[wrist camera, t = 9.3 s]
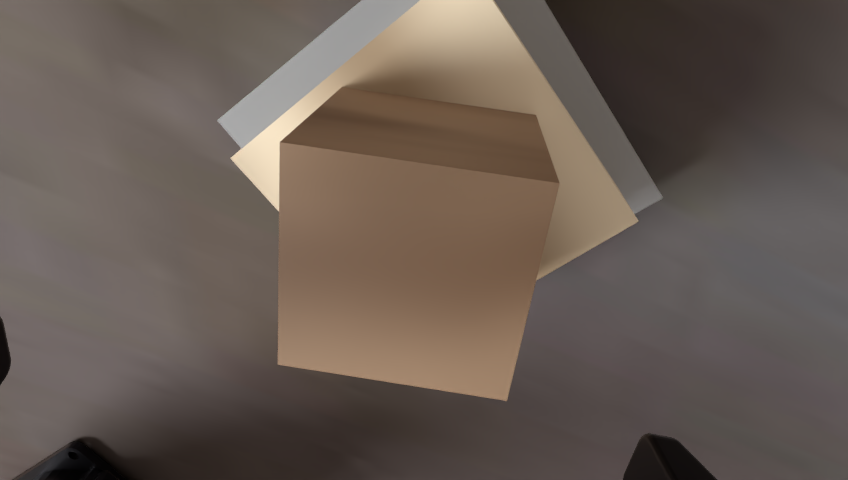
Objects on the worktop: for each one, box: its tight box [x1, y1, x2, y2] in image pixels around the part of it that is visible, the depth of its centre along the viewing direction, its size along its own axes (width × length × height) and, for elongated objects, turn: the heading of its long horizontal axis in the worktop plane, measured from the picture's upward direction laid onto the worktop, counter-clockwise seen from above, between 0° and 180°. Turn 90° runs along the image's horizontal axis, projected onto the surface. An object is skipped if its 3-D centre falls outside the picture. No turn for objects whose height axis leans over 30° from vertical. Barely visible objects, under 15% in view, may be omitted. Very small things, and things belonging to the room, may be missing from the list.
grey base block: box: [217, 0, 663, 214], centre depth 19 cm, size 10×10×2 cm
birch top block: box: [231, 0, 639, 280], centre depth 17 cm, size 8×8×2 cm
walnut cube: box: [278, 87, 560, 401], centre depth 13 cm, size 5×5×5 cm
